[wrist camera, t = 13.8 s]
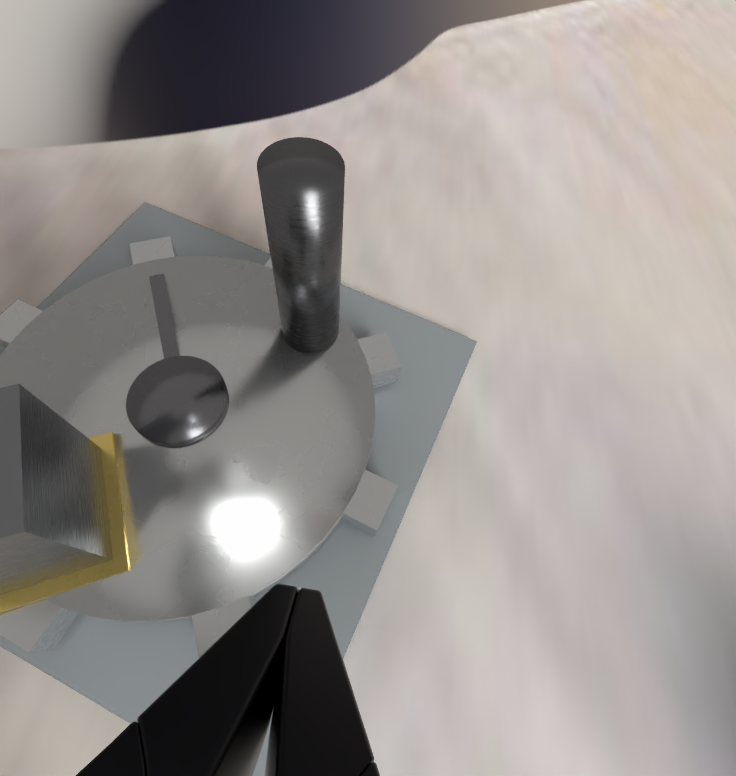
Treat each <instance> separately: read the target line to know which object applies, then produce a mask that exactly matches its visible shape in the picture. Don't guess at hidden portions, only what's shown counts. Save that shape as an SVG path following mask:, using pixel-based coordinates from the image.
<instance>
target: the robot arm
mask: <svg viewBox="0 0 736 776" xmlns="http://www.w3.org/2000/svg"><path fill="white" fill-rule="evenodd" d="M272 713H273V714H272ZM271 717H272V720H271ZM270 721H271V726H270V733H269V740H268V749H267V758H266V766H265V775H264V776H380V774H379V771H378V768H377V765H376V763H375V762H374V756H373V753H372V750H371V747H370V744H369V740H368V737H367V734H366V731H365V728H364V725H363V722H362V718H361V715H360V712H359V709H358V706H357V703H356V700H355V696H354V693H353V690H352V687H351V684H350V681H349V678H348V674H347V671H346V668H345V665H344V662H343V659H342V656H341V652H340V649H339V646H338V643H337V640H336V637H335V634H334V630H333V627H332V624H331V621H330V618H329V615H328V612H327V608H326V605H325V602H324V599H323V596H322V593H321V592H320V591H318V590H313V589H308V588H300V589H299V590H298V589H297V587H295V586H291V585H285V584H280V583H278V584H275V585H274V586H273V587H272V588H271V589H270V590H269V591H268V592H267V593H266V594H265V595H264V596H263V597H262V598H260V599H259V600H258V601H257V602H256V603H255V604H254V605H253V606H252V607H251V608H250V609H249V610H248V611H247V612H246V613H245V614H244V615H243V616H242V617H241V618H240V619H239V620H238V621H237V622H236V623H235V624H234V625H233V626H232V627H231V628H230V629H229V630H227V631H226V632H225V633H224V634H223V635H222V636H221V637H220V638H219V639H218V640H217V641H216V642H215V643H214V644H213V645H212V646H211V647H210V648H209V649H208V650H207V651H206V652H205V653H204V654H203V655H202V656H201V657H200V658H199V659H198V660H197V661H195V662H194V663H193V664H192V665H191V666H190V667H189V668H188V669H187V670H186V671H185V672H184V673H183V674H182V675H181V676H180V677H179V678H178V679H177V680H176V681H175V682H174V683H173V684H172V685H171V686H170V687H169V688H168V689H167V690H166V691H165V692H164V693H162V694H161V695H160V696H159V697H158V698H157V699H156V700H155V701H154V702H153V703H152V704H151V705H150V706H149V707H148V708H147V709H146V710H145V711H144V712H143V713H142V714H141V715H140V716H139V717H138V718H137V722H136V721H134V722H132V723H131V724H130V725H129V726H128V727H127V728H126V729H125V730H124V731H123V732H122V733H121V734H120V735H119V736H118V737H117V738H116V739H115V740H114V741H113V742H112V743H111V744H110V745H108V746H107V747H106V748H105V749H104V750H103V751H102V752H101V753H100V754H99V755H98V756H97V757H95V758H94V759H93V760H92V761H91V762H90V763H89V764H88V765H87V766H86V767H85V768H83V769H82V770H81V771H80V772H79V773H78V774H77V775H76V776H253V773H254V770H255V767H256V764H257V761H258V758H259V755H260V752H261V749H262V746H263V743H264V740H265V737H266V734H267V731H268V728H269V724H270Z"/></svg>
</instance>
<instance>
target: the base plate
mask: <svg viewBox="0 0 736 776" xmlns="http://www.w3.org/2000/svg"><path fill="white" fill-rule="evenodd" d="M168 236H170V237H171V240H172V242H173V245H174V247H175V250H176V252H177V255H178V256H196V255H201V256H221V257H228V258H235V259H242V260H246V261H250V262H254V263H257V264H261V265H265V264H266V263H267V261H268V260H269V259H270V257H271V255H270V254H268V253H265V252H263V251H260V250H258V249H256V248H253V247H251V246H248V245H246V244H244V243H241V242H239V241H237V240H234V239H232V238H229V237H227V236H225V235H222V234H220V233H218V232H215V231H213V230H210V229H208V228H206V227H203V226H201V225H199V224H196V223H194V222H191V221H189V220H187V219H184V218H182V217H180V216H177V215H175V214H172V213H170V212H168V211H165V210H163V209H161V208H158V207H156V206H153V205H151V204H149V203H146V202H145V203H144V204H143V205H142V206H141V207H140V208H139V209H138V210H137V211H136V212H135V213H134V214H133V215H132V216H131V217H130V218H129V219H127V220H126V221H125V222H124V223H123V224H122V225H121V226H120V227H119V228H118V229H117V230H116V231H115V232H114V233H113V234H112V235H111V236H110V237H109V238H108V239H107V240H106V241H105V242H104V243H103V244H102V245H101V246H100V247H99V248H98V249H97V250H96V251H95V252H94V253H93V254H92V255H91V256H90V257H89V258H88V259H87V260H86V261H85V262H84V263H83V264H81V265H80V266H79V267H78V268H77V269H76V270H75V271H74V272H73V273H72V274H71V275H70V276H69V277H68V278H67V279H66V280H65V281H64V282H63V283H62V284H61V285H60V286H59V287H58V288H57V289H56V290H55V291H54V292H53V293H52V294H51V295H50V296H49V297H48V298H47V299H46V300H45V301H44V302H43V303H42V304H41V305H40V306H39V307H38V309H40V310H42V311H44V310H45V309H46V308H48V307H49V306H51V305H52V304H53V303H55V302H56V301H58V300H59V299H60V298H62V297H63V296H65V295H66V294H68V293H70V292H72V291H73V290H75V289H77V288H79V287H80V286H82V285H84V284H86V283H88V282H90V281H92V280H94V279H97V278H99V277H101V276H103V275H105V274H108V273H110V272H113V271H116V270H119V269H122V268H125V267H128V266H131V265H133V261H132V255H131V249H130V243H136V242H141V241H146V240H152V239H157V238H162V237H168ZM339 315H340V316H341V317H342V318H343V319H344V320H345V322H346V323H347V325H348V326H349V328H350V329H351V331H352V332H353V334H354V335H355V337H356V338H357V339H361V338H365V337H369V336H372V335H376V334H380V333H384V332H387V335H388V337H389V339H390V342H391V344H392V346H393V349H394V351H395V353H396V356H397V358H398V360H399V363H400V365H401V369H400V372H399V376H398V380H397V382H395V383H392V384H388V385H385V386H381V387H377V388H374V389H373V390H374V396H375V425H374V433H373V441H372V446H371V450H370V455H369V458H368V462H367V466H366V470H367V471H369V472H371V473H373V474H375V475H377V476H379V477H382V478H384V479H386V480H388V481H390V482H392V483H394V484H396V485H398V487H397V489H396V491H395V494H394V496H393V498H392V500H391V502H390V504H389V507H388V509H387V511H386V513H385V515H384V518H383V520H382V522H381V524H380V526H379V528H378V531H377V533H376V534H375V536H374V537H372V536H370V535H368V534H366V533H364V532H362V531H360V530H358V529H356V528H354V527H353V526H351V525H349V524H347V523H345V522H343V521H342V522H341V523H340V525H339V526H338V527H337V529H336V530H335V531H334V532H333V534H332V535H331V536H330V538H329V539H328V540H327V542H326V543H325V544H324V545H323V546H322V547H321V548H320V549H319V550H318V551H317V552H316V553H315V554H314V555H313V556H312V557H311V558H310V559H309V560H308V561H307V562H306V563H305V564H304V565H303V566H302V567H300V568H299V569H298V570H296V571H295V572H294V573H293V574H291V575H290V576H289V577H287V578H286V579H285V580H284V581H282V582H281V583H280V584H285V585H291V586H295V587H297V589H298V590H299V589H300V588H308V589H313V590H318V591H320V592H321V593H322V596H323V599H324V602H325V605H326V608H327V612H328V615H329V618H330V621H331V624H332V627H333V630H334V634H335V637H336V640H337V643H338V646H339V649H340V652H341V656H342V659H343V657H344V655H345V652H346V650H347V648H348V645H349V643H350V641H351V638H352V636H353V633H354V631H355V629H356V626H357V624H358V622H359V619H360V617H361V615H362V612H363V610H364V607H365V605H366V603H367V600H368V598H369V596H370V593H371V591H372V589H373V586H374V584H375V581H376V579H377V577H378V574H379V572H380V570H381V567H382V565H383V563H384V560H385V558H386V555H387V553H388V551H389V548H390V546H391V544H392V541H393V539H394V537H395V534H396V532H397V529H398V527H399V525H400V522H401V520H402V518H403V515H404V513H405V510H406V508H407V506H408V503H409V501H410V499H411V496H412V494H413V492H414V489H415V487H416V484H417V482H418V480H419V477H420V475H421V473H422V470H423V468H424V466H425V463H426V461H427V458H428V456H429V454H430V451H431V449H432V447H433V444H434V442H435V440H436V437H437V435H438V432H439V430H440V428H441V425H442V423H443V421H444V418H445V416H446V414H447V411H448V409H449V406H450V404H451V402H452V399H453V397H454V395H455V392H456V390H457V388H458V385H459V383H460V380H461V378H462V376H463V373H464V371H465V369H466V366H467V364H468V362H469V359H470V357H471V354H472V352H473V350H474V347H475V345H476V343H477V341H474V340H472V339H470V338H467V337H465V336H463V335H460V334H458V333H455V332H453V331H451V330H448V329H446V328H444V327H441V326H439V325H436V324H434V323H432V322H429V321H427V320H424V319H422V318H420V317H417V316H415V315H413V314H410V313H408V312H405V311H403V310H401V309H398V308H396V307H394V306H391V305H389V304H386V303H384V302H382V301H379V300H377V299H375V298H372V297H370V296H367V295H365V294H363V293H360V292H358V291H356V290H353V289H351V288H348V287H346V286H344V285H340V312H339ZM4 350H5V348H4V347H3V346H2V345H0V355H1V354H2V353H3V351H4ZM269 590H270V589H269ZM269 590H267V591H266V592H264V593H262V594H261V595H259V596H257V597H255V603H256V602H257V601H258V600H259V599H260V598H262V597H263V596H264V595H265V594H266V593H267V592H268V591H269ZM0 646H1V647H3V648H5V649H6V650H8V651H10V652H12V653H13V654H15V655H17V656H18V657H20V658H22V659H23V660H25V661H27V662H28V663H30V664H32V665H33V666H35V667H37V668H38V669H40V670H42V671H43V672H45V673H47V674H48V675H50V676H52V677H53V678H55V679H57V680H58V681H60V682H62V683H64V684H65V685H67V686H69V687H70V688H72V689H74V690H75V691H77V692H79V693H80V694H82V695H84V696H85V697H87V698H89V699H90V700H92V701H94V702H95V703H97V704H99V705H100V706H102V707H104V708H105V709H107V710H109V711H110V712H112V713H114V714H115V715H117V716H119V717H121V718H122V719H124V720H126V721H127V722H129V723H132V722H134V721H136V722H137V718H138V717H139V716H140V715H141V714H142V713H143V712H144V711H145V710H146V709H147V708H148V707H149V706H150V705H151V704H152V703H153V702H154V701H155V700H156V699H157V698H158V697H159V696H160V695H161V694H162V693H164V692H165V691H166V690H167V689H168V688H169V687H170V686H171V685H172V684H173V683H174V682H175V681H176V680H177V679H178V678H179V677H180V676H181V675H182V674H183V673H184V672H185V671H186V670H187V669H188V668H189V667H190V666H191V665H192V664H193V663H194V662H195V661H197V660H198V659H199V656H198V650H197V644H196V638H195V632H194V626H193V620H192V618H191V619H184V620H177V621H171V622H130V621H118V620H111V619H103V618H96V617H91V616H87V615H84V614H81V613H79V614H78V616H77V617H76V618H75V620H74V621H73V623H72V624H71V626H70V627H69V628H68V630H67V631H66V633H65V634H64V635H63V637H62V638H61V640H60V641H59V643H58V644H57V645H56V647H55V648H54V650H51V651H39V652H27V651H26V650H24V649H22V648H21V647H19V646H18V645H16V644H14V643H13V642H11V641H9V640H8V639H6V638H5V637H3V636H1V635H0ZM272 714H273V713H272ZM271 720H272V717H271ZM270 726H271V721H270V724H269V728H268V731H267V734H266V737H265V740H264V743H263V746H262V749H261V752H260V755H259V758H258V761H257V764H256V767H255V770H254V773H253V776H264V775H265V766H266V758H267V749H268V740H269V733H270Z"/></svg>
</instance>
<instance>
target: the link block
mask: <svg viewBox="0 0 736 776" xmlns="http://www.w3.org/2000/svg"><path fill="white" fill-rule="evenodd" d="M110 560H113V555H112V545H111V536H110V527H109V518H108V509H107V500H106V491H105V482H104V473H103V464H102V455H101V448H100V447H99V446H98V445H96V444H95V443H94V442H92V441H91V440H90V439H89V438H87V437H86V436H85V435H84V434H82V433H81V432H80V431H79V430H77V429H76V428H75V427H73V426H72V425H71V424H70V423H68V422H67V421H66V420H65V419H63V418H62V417H61V416H60V415H58V414H57V413H56V412H54V411H53V410H52V409H51V408H49V407H48V406H47V405H46V404H44V403H43V402H42V401H41V400H39V399H38V398H37V397H36V396H34V395H33V394H32V393H30V392H29V391H28V390H27V389H25V388H24V387H23V386H22V385H20V384H15V385H11V386H7V387H2V388H0V596H2V595H6V594H9V593H12V592H15V591H18V590H21V589H24V588H27V587H30V586H33V585H36V584H39V583H43V582H46V581H49V580H52V579H55V578H58V577H61V576H64V575H67V574H70V573H73V572H76V571H80V570H83V569H86V568H89V567H92V566H95V565H98V564H101V563H104V562H107V561H110Z"/></svg>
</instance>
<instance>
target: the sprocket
mask: <svg viewBox="0 0 736 776" xmlns="http://www.w3.org/2000/svg"><path fill="white" fill-rule="evenodd" d="M257 171H258V177H259V184H260V190H261V197H262V203H263V210H264V216H265V223H266V229H267V235H268V242H269V248H270V255H271V257H270V259H269V260H268V261H267V263H266V264H265V265H261V264H257V263H254V262H250V261H246V260H242V259H235V258H228V257H221V256H201V255H196V256H178V255H177V252H176V250H175V247H174V245H173V242H172V240H171V237H170V236H168V237H162V238H157V239H152V240H146V241H141V242H136V243H130V249H131V255H132V261H133V265H131V266H128V267H125V268H122V269H119V270H116V271H113V272H110V273H108V274H105V275H103V276H101V277H99V278H97V279H94V280H92V281H90V282H88V283H86V284H84V285H82V286H80V287H79V288H77V289H75V290H73V291H72V292H70V293H68V294H66V295H65V296H63V297H62V298H60V299H59V300H58V301H56V302H55V303H53V304H52V305H51V306H49V307H48V308H46V309H45V310H44V311H42V310H40V309H38V308H36V307H33V306H31V305H29V304H27V303H25V302H23V301H21V300H19V299H17V300H16V301H15V302H14V303H13V304H12V305H11V306H9V307H8V308H7V309H6V310H5V311H4V312H3V313H2V314H1V315H0V345H2V346H3V347H4V348H5V350H4V351H3V353H2V354H1V355H0V388H2V387H7V386H11V385H15V384H20V385H22V386H23V387H24V388H25V389H27V390H28V391H29V392H30V393H32V394H33V395H34V396H36V397H37V398H38V399H39V400H41V401H42V402H43V403H44V404H46V405H47V406H48V407H49V408H51V409H52V410H53V411H54V412H56V413H57V414H58V415H60V416H61V417H62V418H63V419H65V420H66V421H67V422H68V423H70V424H71V425H72V426H73V427H75V428H76V429H77V430H79V431H80V432H81V433H82V434H84V435H85V436H86V437H87V438H89V439H90V440H91V441H92V442H94V443H95V444H96V445H98V446H99V447H100V448H101V455H102V464H103V473H104V482H105V491H106V500H107V509H108V518H109V527H110V536H111V545H112V555H113V560H110V561H107V562H104V563H101V564H98V565H95V566H92V567H89V568H86V569H83V570H80V571H76V572H73V573H70V574H67V575H64V576H61V577H58V578H55V579H52V580H49V581H46V582H43V583H39V584H36V585H33V586H30V587H27V588H24V589H21V590H18V591H15V592H12V593H9V594H6V595H2V596H0V635H1V636H3V637H5V638H6V639H8V640H9V641H11V642H13V643H14V644H16V645H18V646H19V647H21V648H22V649H24V650H26V651H27V652H39V651H51V650H54V648H55V647H56V645H57V644H58V643H59V641H60V640H61V638H62V637H63V635H64V634H65V633H66V631H67V630H68V628H69V627H70V626H71V624H72V623H73V621H74V620H75V618H76V617H77V616H78V614H79V613H81V614H84V615H87V616H91V617H96V618H103V619H111V620H118V621H130V622H171V621H177V620H184V619H191V618H192V620H193V626H194V632H195V638H196V644H197V650H198V656H199V658H200V657H201V656H202V655H203V654H204V653H205V652H206V651H207V650H208V649H209V648H210V647H211V646H212V645H213V644H214V643H215V642H216V641H217V640H218V639H219V638H220V637H221V636H222V635H223V634H224V633H225V632H226V631H227V630H229V629H230V628H231V627H232V626H233V625H234V624H235V623H236V622H237V621H238V620H239V619H240V618H241V617H242V616H243V615H244V614H245V613H246V612H247V611H248V610H249V609H250V608H251V607H252V606H253V605H254V604H255V597H257V596H259V595H261V594H262V593H264V592H266V591H267V590H269V589H271V588H272V587H273V586H274V585H275V584H278V583H281V582H282V581H284V580H285V579H286V578H287V577H289V576H290V575H291V574H293V573H294V572H295V571H296V570H298V569H299V568H300V567H302V566H303V565H304V564H305V563H306V562H307V561H308V560H309V559H310V558H311V557H312V556H313V555H314V554H315V553H316V552H317V551H318V550H319V549H320V548H321V547H322V546H323V545H324V544H325V543H326V542H327V540H328V539H329V538H330V536H331V535H332V534H333V532H334V531H335V530H336V529H337V527H338V526H339V525H340V523H341V522H342V521H343V522H345V523H347V524H349V525H351V526H353V527H354V528H356V529H358V530H360V531H362V532H364V533H366V534H368V535H370V536H372V537H374V536H375V534H376V533H377V531H378V528H379V526H380V524H381V522H382V520H383V518H384V515H385V513H386V511H387V509H388V507H389V504H390V502H391V500H392V498H393V496H394V494H395V491H396V489H397V487H398V485H396V484H394V483H392V482H390V481H388V480H386V479H384V478H382V477H379V476H377V475H375V474H373V473H371V472H369V471H367V470H366V466H367V462H368V458H369V455H370V450H371V446H372V441H373V433H374V425H375V396H374V390H373V389H374V388H377V387H381V386H385V385H388V384H392V383H395V382H397V380H398V376H399V372H400V369H401V365H400V363H399V360H398V358H397V356H396V353H395V351H394V349H393V346H392V344H391V342H390V339H389V337H388V335H387V332H384V333H380V334H376V335H372V336H369V337H365V338H361V339H357V338H356V337H355V335H354V334H353V332H352V331H351V329H350V328H349V326H348V325H347V323H346V322H345V320H344V319H343V318H342V317H341V316H340V315H339V312H340V285H341V258H342V231H343V204H344V176H345V165H344V161H343V158H342V157H341V155H340V154H339V152H338V151H337V150H335V149H334V148H333V147H332V146H330V145H328V144H327V143H324V142H322V141H319V140H316V139H311V138H303V137H295V138H288V139H283V140H280V141H277V142H275V143H273V144H271V145H270V146H268V147H267V148H266V149H265V150H264V151H263V152H262V153H261V154H260V156H259V158H258V162H257Z"/></svg>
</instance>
